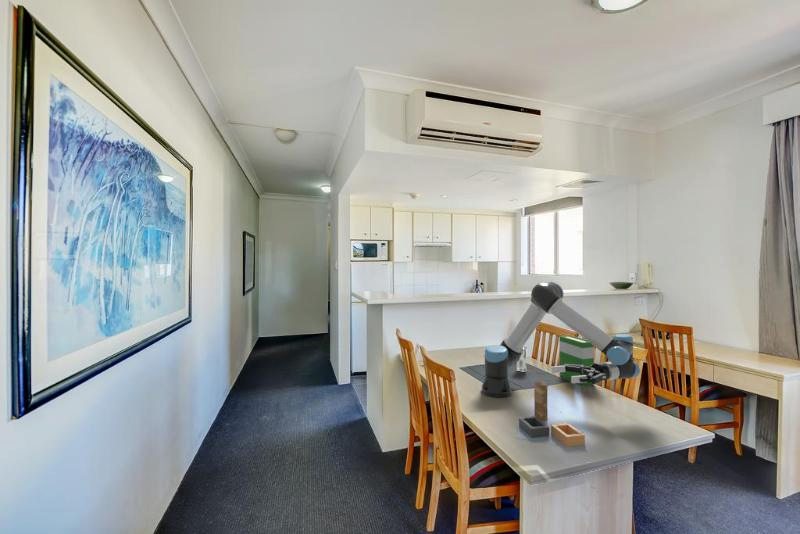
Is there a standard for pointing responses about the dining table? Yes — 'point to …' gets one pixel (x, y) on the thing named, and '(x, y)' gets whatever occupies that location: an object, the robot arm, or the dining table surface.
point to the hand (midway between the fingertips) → (561, 374)
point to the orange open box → (571, 439)
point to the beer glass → (522, 361)
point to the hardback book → (575, 355)
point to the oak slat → (540, 400)
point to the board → (547, 439)
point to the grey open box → (536, 431)
